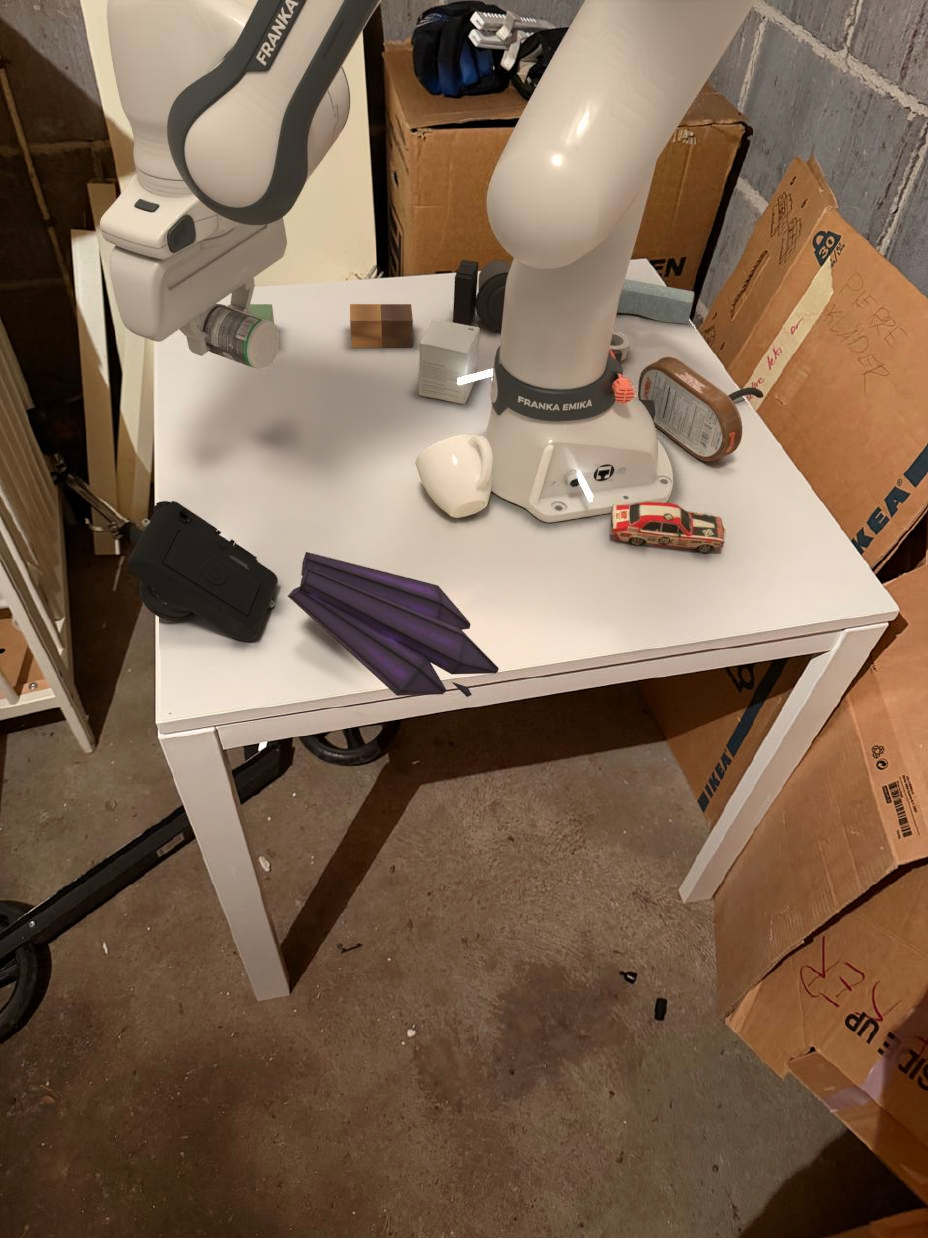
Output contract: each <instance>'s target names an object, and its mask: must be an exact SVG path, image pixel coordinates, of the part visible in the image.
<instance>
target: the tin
mask: <svg viewBox="0 0 928 1238" xmlns="http://www.w3.org/2000/svg"><path fill="white" fill-rule="evenodd" d="M639 375H640V376H639V379H638V387H637V388H638V389H637V399H641V400H653V401H654V405H655V413H656V414H655V418H654V422H653V423H654V425H655V428H658V429H659V430H660V431H661V432H663V433H664V434H665V435H666V436H668V437H669V438H670V439H672V440H673V441H674V442H675V443H677V444H678V445H679V446H680V447H681V448H683V449H685V451H687V452H688V453H689V454H690V455H692V456H693V457H694V458H696V459H698V460H699V461H700V460H701V461H703V462H713V461H716V460H720V459H721V458H723V457H726V456H729V455H731V454H733V453H734V452H735V451H736V450H737V449H738V448H739V446H740V444H741V442H742V438H743V422H742V417H741V414H740V412H739V409H738V407H737V406H736V404H735V402H734V400H733V401H732V400H731V399H730V397H729V396H728V395H729V394H727V393H726V392H725V391H723V390H722V389H720V388H719V387H718V386H716V385H715V384H714V383H712V382H711V381H709V380H708V379H706V378H705V377H704V376H702V375H701V374H700V373H698V372H697V371H696V370H694V369H693V368H691V367H690V366H688V365H687V364H686V363H684V362H683V361H682V360H680V359H678V358H676V357H674V356H665V357H661V358H659V359H658V360H657V361H654V362H652V363H650V364H648V365H647V366H646V367H644V369H642V371H641V373H640V374H639Z"/></svg>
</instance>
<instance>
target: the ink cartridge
mask: <svg viewBox="0 0 928 1238" xmlns="http://www.w3.org/2000/svg"><path fill="white" fill-rule="evenodd" d="M478 280H479V261H474V260H469V259H468V260H467V259H461V261H460V263H459V265H458V268H457V270H456V272H455V275H454V286H453V288H454V289H453V308H452V309H453V311H452V323H458V324H463V325H468V326H473V322H474V319H475V316H476V306H475V304H476V296H477V294H478Z"/></svg>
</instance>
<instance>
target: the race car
mask: <svg viewBox="0 0 928 1238" xmlns="http://www.w3.org/2000/svg"><path fill="white" fill-rule="evenodd" d="M610 535H611V537H612V539H614V540H615V541H618V542H623V543H624V542H625V543H628V544H631V545H633V546H637V547H642V546H644V545H649V546H655V547H663V548H665V547H666V548H672V549H673V548H674V549H684V550H693V549H695V550H696V551H697V553H699V554H703V555H705V554H707V553H709V552H711V551H712V550H713V549H715V550H719V549H722V548H724V545H725V538H726V528H725V526H724V523H723V519H722V517H721V516H719V515H714V514H710V513H707V512H700V511H699V512H698V511H691V510H685V509H684V508H682V507H681V506H680V505H678V504H677V503H673V502H666V503H662V502H643V503H635V504H633V505H612V510H611V513H610Z"/></svg>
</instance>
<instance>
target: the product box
mask: <svg viewBox="0 0 928 1238" xmlns="http://www.w3.org/2000/svg"><path fill="white" fill-rule="evenodd" d="M480 334H481V328H480V327H478V326H473V325H471V326H468V325H463V324H458V323H453V321H448V320H442V319H436V318H434V319H432V320H431V322H430V324H429V326H428V328H427V330H426V331H425V333H424V335H423V336H422V338H421V340H420V342H419V355H418V356H419V360H418V361H419V363H418V365H419V366H418V395H419V396H420V397H424V398H425V397H426V398H431V399H435V400H436V399H437V400H442V401H446V402H451V403H454V404H455V403H456V404H459V405H465V404H466V403H467V400H468V399H469V396H470V394H471V392H472V390H473V388H474V385H475V383H476V381H472V382H468V383H465V384H461V385H458V378H461V377H464V376H468V375H472V374H475V373H478V367H479V353H480V352H479V351H480V350H479V349H480V338H481V337H480V336H481V335H480Z"/></svg>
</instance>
